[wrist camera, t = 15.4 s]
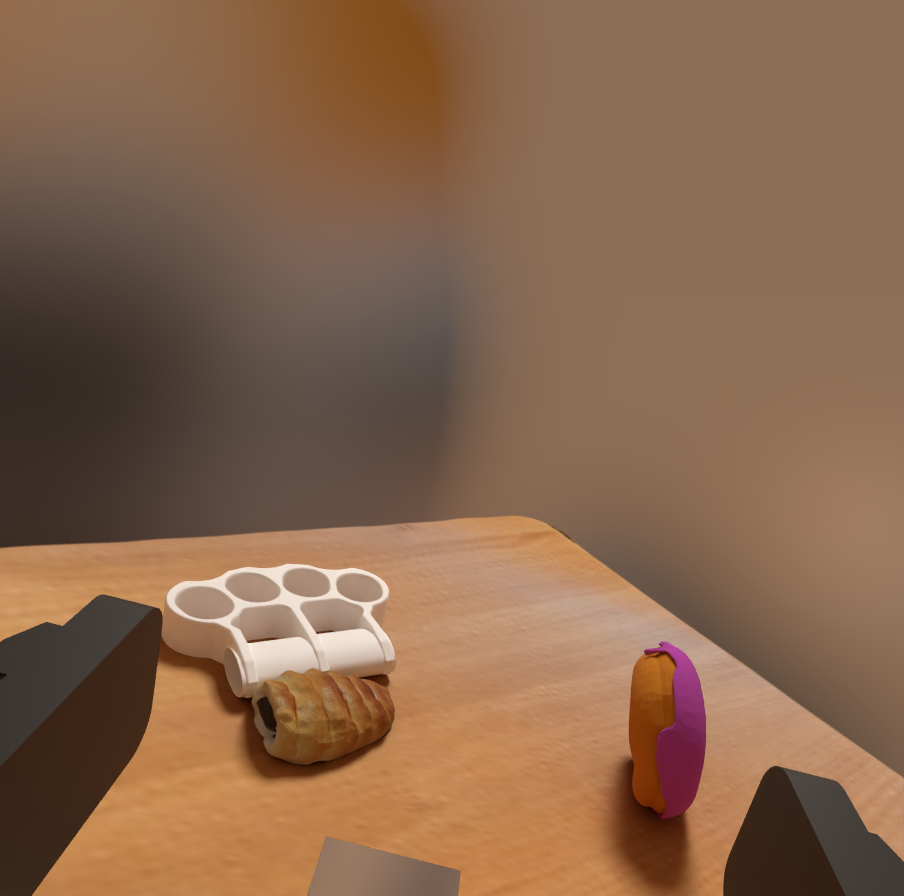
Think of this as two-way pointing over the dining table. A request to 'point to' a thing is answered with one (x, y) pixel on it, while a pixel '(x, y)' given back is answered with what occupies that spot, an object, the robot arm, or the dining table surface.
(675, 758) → the donut
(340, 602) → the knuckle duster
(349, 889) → the walnut block
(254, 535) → the dining table surface
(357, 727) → the pastry
